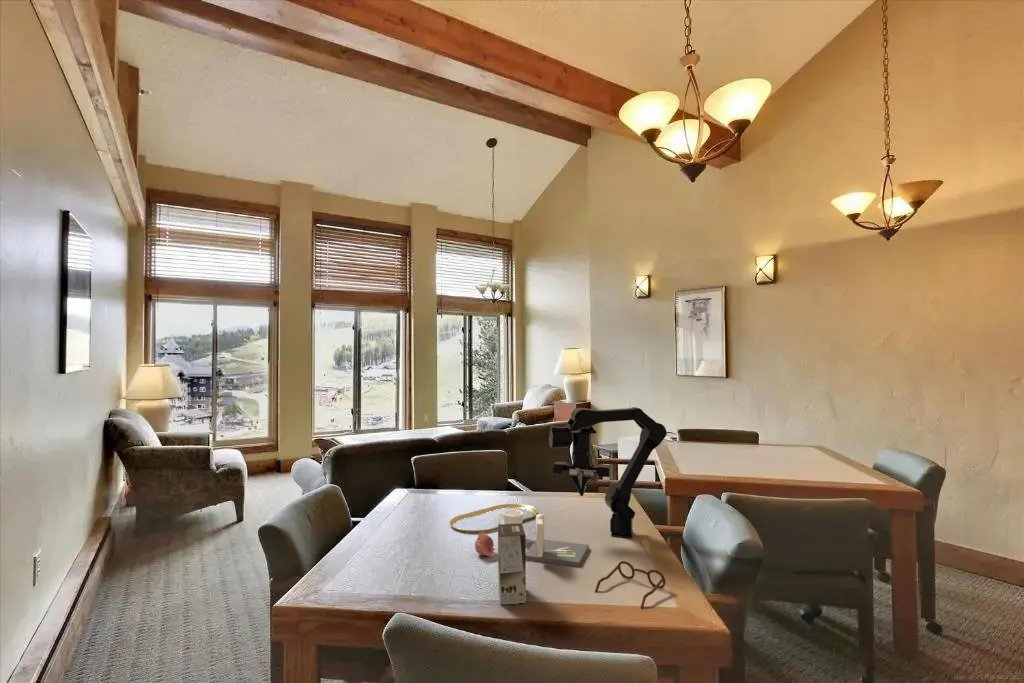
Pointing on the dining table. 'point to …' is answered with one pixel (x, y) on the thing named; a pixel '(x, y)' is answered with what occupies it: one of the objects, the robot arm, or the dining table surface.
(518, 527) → the coffee box
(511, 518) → the cup
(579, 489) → the robot arm
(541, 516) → the tuning peg
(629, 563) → the glasses
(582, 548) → the grey board
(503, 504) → the yellow oval loop
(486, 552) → the flower
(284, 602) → the dining table surface
